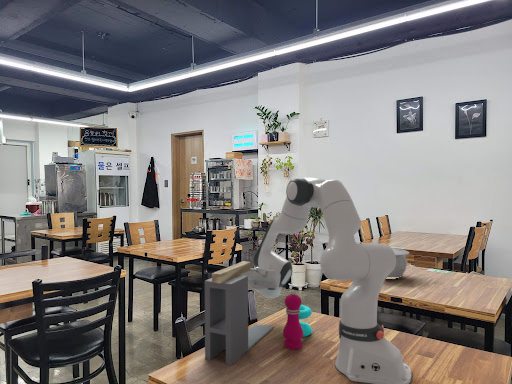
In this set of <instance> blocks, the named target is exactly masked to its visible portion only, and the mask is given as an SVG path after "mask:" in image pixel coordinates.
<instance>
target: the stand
mask: <svg viewBox="0 0 512 384" xmlns="http://www.w3.org/2000/svg"><path fill="white" fill-rule="evenodd" d="M248 329H249V281H248V276H244V275H238V276H236V277H234V278H231V279H229V280H227V281H225V282H222V283H220V284H219V283H212V277H211V278H209V279H206V280H204V359H205V360H208V361H210V360H212V359H214V357H216V356H217V355H219V354H220V353H221V352H222V351H224V350H225V364H226V365H229V366H232V365H233V364H234V363H236V361H238V360H240V358H241V357H243V355H244V354H245V353H247V352H248V351H249V350H248Z"/></svg>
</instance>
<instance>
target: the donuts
mask: <svg viewBox="0 0 512 384" xmlns="http://www.w3.org/2000/svg"><path fill="white" fill-rule="evenodd" d="M299 308H300V313H299V322H300V325H301V327H302V330H303V337H302V338H304V337H309V335H311V334H312V330H313V329H312V327H311V325H310V324H309V323H307V322H305V321H300V320H306V319H308V318H310V317H311V315H312V314H313V311H312V308H311V307H309V306H308V305H305V304H301V306H300V307H299ZM285 312H286V311H285ZM286 314H287V312H286Z"/></svg>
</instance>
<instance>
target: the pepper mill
mask: <svg viewBox="0 0 512 384" xmlns="http://www.w3.org/2000/svg"><path fill="white" fill-rule="evenodd" d="M284 305H285V307H286V308H285V312H287V313H286V315H287V319H286V323H285V325H284V326H283V329H282V330H283V331H282V332H283V333H282V336H283V337H284V342H283V343H284V344H283V345H284V348H286V349H288V350H300V349H301V348H302V346H303V341H302V339H303V338H304V337H303V330H302V327H301V325H300V322H301V321H300V319H299V313H300V308H299V307H300V306H301V305H302V299H301V297H300V296H299V295H297V294H296V290H294V289H292V290H291V291H290V294H288V295H286V297H285V298H284ZM299 321H300V322H299Z"/></svg>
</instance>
